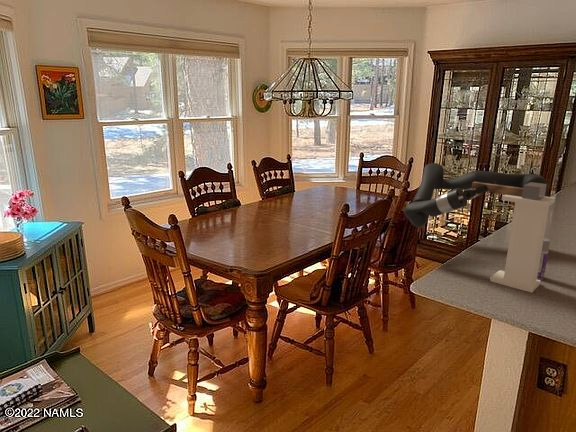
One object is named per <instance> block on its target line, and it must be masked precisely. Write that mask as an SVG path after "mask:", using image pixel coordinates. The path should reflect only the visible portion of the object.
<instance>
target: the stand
mask: <svg viewBox="0 0 576 432" xmlns="http://www.w3.org/2000/svg"><path fill="white" fill-rule="evenodd" d="M501 201H504V202H505V201H506V202H511V203H514V208H513V213H512V220H511V228H510V233H509V234H510V235H509V238H508V239H509V241H508V247H507V254H506V259H505V266H504V267H505V268H504V270H501V269H499V270H498V271H497V272H495V273H494V274H493V275H491V276H490V278H489V279H490V280H489V282H493V283H495V284H499V285H502V286H506V287H509V288H512V289H513V288H514V289H516V290H520V291H521V290H522V291H525V292H528V293H533V292H534V291H535V290H536V289H537V288H538V287H539V286H540V285H541V281H542V280H538V279H537V274H538V269H539V263H540V257H541V252H542V246H543V240H544V238H545V233H546V228H547V222H548V216H549V210H550V206H551V205H553V204H554V203H555V201H556V197H550V196H547V197H544V198H542V199H540V200H538V201H537V200H530V199H524V198H522V197H521V196H514V195H507V194H502V196H501Z"/></svg>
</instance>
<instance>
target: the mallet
mask: <svg viewBox="0 0 576 432" xmlns="http://www.w3.org/2000/svg"><path fill="white" fill-rule="evenodd" d="M483 185H487V186H488V189H489V190H488V191H486V192H485V193H493V194H501V195H505V194H507V195H514V196H521V197H522V198H524V199H530V200H537V201H538V200H540V199H542V198H544V197H545V192H546V186H547V184H542V183H533V182H530V183H528V184H525V185H524V187H523V188H519V187H512V186H504V185H497V184H489V183H481V182H472V189H474V188H478V187H481V186H483Z"/></svg>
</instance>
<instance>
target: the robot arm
mask: <svg viewBox="0 0 576 432" xmlns="http://www.w3.org/2000/svg"><path fill="white" fill-rule="evenodd" d="M444 175H445V170H444V167H443V165H441V164H440V163H438V162H431V163H427V164H426V165H425V166H424V168H423V171H422V178H421V181H420V185H419V187H418V189H417V192H416V193H415V195H414V198H413V199H412V202H410V203H408V204H407V205H406V206H404V209H403V214H404V216H406V218H407V219H408V221H410V223H411V225H412V226H413V227H415V228H421V227H424V226H425V225H426V224H427V222H428V220H429V218H430V217H432V218H436V217H438V216H441V215H444V214H446V213H447V214H448V213H450V212H451V213H452V212H453V211H456V210H459V209H462V208H465V207H466V206H467V205H468V201H470V200H473V199H475V198H477V197H479V196H481V195H483V193H487V192H486V191H488V190H489V189H488V186H487V185H483V186H481V187H478V188H474V189H472V182H481V183H489V184H497V185H504V186H512V187H519V188H523V187H524V185H525V184H528V183H530V182H533V183H542V184H547V186H546V192H545V197H548V191H549V184H548V183H549V182H548V181H547V180H546V178H545V177H543V176H542V175H540V174H537V173H524V174H520V173H519V174H517V173H515V174H513V173H510V174H509V173H504V172H496V171H489V170H488V171H487V170H472V171H469V172H466V173H464V174H462V175H460V176H457V177H452V178H448V177H447V178H444ZM435 190H450V191H448V192H445V193H442V194H440V195H439V196H436V197H435V198H433V196H434V193H435Z"/></svg>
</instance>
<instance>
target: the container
mask: <svg viewBox="0 0 576 432" xmlns="http://www.w3.org/2000/svg"><path fill="white" fill-rule="evenodd" d="M550 243H551V239H550V238H547V237H544V240H543V246H542V252H541V257H540V263H539V269H538V274H537V280H541V281H542V280H544V279H545V274H546V268H547V267H546V266H547V263H548V262H547V261H548V256H549V251H550V250H549V249H550Z"/></svg>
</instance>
